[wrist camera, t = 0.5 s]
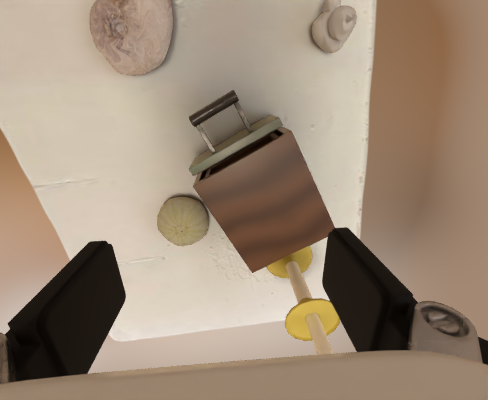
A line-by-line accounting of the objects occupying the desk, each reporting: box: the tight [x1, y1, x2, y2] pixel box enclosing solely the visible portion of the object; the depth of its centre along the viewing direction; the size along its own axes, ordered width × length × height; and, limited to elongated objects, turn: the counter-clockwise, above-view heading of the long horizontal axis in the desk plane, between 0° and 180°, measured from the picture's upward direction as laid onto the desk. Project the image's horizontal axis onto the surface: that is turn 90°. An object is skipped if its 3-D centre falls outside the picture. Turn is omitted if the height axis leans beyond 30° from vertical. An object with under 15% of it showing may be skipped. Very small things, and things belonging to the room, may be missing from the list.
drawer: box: [189, 90, 282, 178], centre depth 37 cm, size 22×14×7 cm, turn 29°
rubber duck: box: [312, 0, 356, 53], centre depth 30 cm, size 5×7×8 cm
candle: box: [267, 246, 340, 355], centre depth 35 cm, size 10×10×32 cm
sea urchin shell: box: [157, 197, 209, 246], centre depth 42 cm, size 9×8×8 cm
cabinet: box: [193, 127, 335, 273], centre depth 39 cm, size 18×15×9 cm
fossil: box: [90, 0, 173, 76], centre depth 31 cm, size 12×4×10 cm
